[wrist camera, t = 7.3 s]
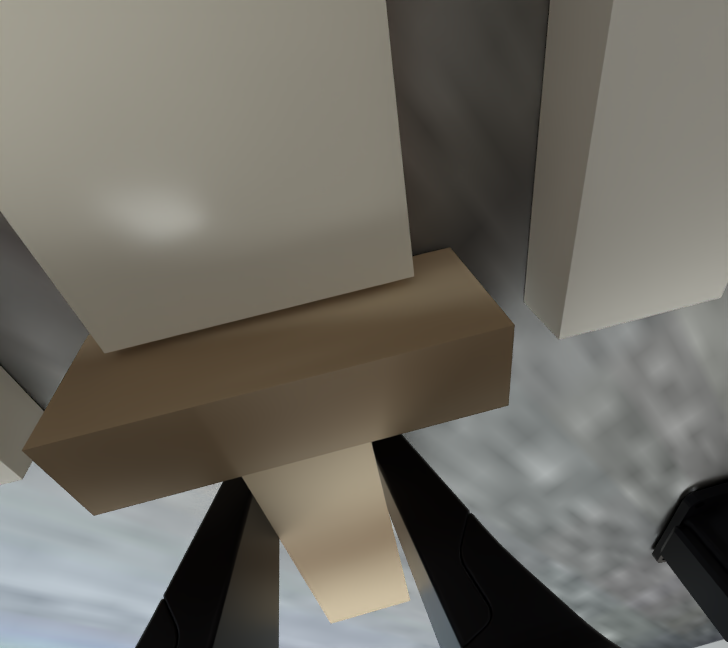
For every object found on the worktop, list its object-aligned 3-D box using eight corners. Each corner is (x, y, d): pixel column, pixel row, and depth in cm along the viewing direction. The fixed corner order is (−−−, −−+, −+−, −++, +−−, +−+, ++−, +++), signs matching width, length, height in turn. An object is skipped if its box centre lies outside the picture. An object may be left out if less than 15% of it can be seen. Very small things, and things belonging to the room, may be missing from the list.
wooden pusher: (459, 489, 15) (495, 576, 13) (245, 548, 15) (241, 649, 12) (449, 247, 9) (514, 325, 7) (88, 334, 9) (21, 450, 6)
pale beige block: (340, -146, 6) (364, -202, 4) (391, 238, 9) (414, 276, 8) (-97, -65, 5) (-227, -98, 4) (129, 302, 9) (104, 353, 8)
